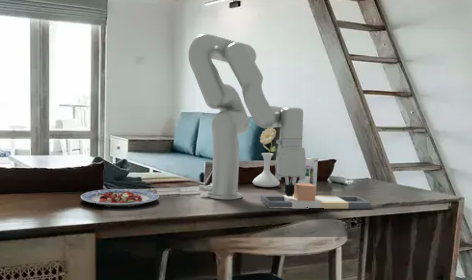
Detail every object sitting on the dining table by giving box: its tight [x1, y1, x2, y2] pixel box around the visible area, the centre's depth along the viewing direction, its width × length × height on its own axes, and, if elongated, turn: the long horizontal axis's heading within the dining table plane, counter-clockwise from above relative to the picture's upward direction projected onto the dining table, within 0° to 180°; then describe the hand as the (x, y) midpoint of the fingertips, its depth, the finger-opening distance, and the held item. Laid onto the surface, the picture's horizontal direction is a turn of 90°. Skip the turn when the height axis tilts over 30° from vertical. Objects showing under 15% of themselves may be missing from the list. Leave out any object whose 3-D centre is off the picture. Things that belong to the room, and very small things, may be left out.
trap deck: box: [260, 194, 372, 210], centre depth 185 cm, size 36×13×2 cm, turn 100°
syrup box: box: [297, 156, 319, 187], centre depth 204 cm, size 6×6×14 cm
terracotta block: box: [293, 182, 317, 201], centre depth 184 cm, size 6×6×5 cm
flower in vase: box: [252, 128, 280, 188], centre depth 218 cm, size 13×11×25 cm
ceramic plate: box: [80, 188, 160, 207], centre depth 178 cm, size 26×26×3 cm
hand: (289, 195), depth 183 cm, fingers closed
